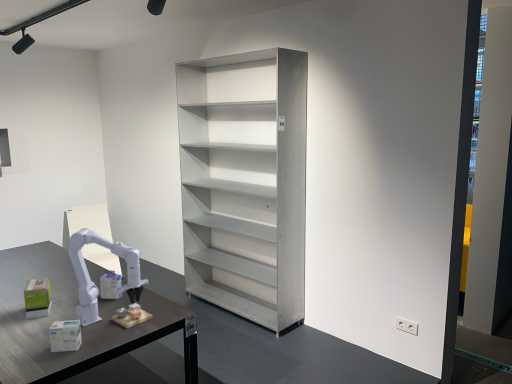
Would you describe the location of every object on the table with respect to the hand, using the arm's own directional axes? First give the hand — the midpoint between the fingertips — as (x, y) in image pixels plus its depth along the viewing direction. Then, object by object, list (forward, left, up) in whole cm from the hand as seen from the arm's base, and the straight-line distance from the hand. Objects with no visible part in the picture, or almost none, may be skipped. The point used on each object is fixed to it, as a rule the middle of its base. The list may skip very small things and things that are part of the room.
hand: (134, 302), depth 199 cm
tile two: (+4, +6, -7) cm, 10 cm away
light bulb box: (-33, 0, -10) cm, 34 cm away
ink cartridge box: (+7, +34, -10) cm, 36 cm away
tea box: (-26, +44, -10) cm, 52 cm away
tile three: (-3, +6, -7) cm, 10 cm away
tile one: (0, 0, -7) cm, 7 cm away
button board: (0, +3, -9) cm, 10 cm away
